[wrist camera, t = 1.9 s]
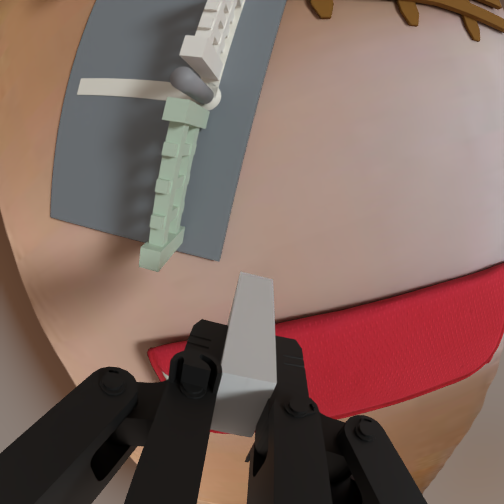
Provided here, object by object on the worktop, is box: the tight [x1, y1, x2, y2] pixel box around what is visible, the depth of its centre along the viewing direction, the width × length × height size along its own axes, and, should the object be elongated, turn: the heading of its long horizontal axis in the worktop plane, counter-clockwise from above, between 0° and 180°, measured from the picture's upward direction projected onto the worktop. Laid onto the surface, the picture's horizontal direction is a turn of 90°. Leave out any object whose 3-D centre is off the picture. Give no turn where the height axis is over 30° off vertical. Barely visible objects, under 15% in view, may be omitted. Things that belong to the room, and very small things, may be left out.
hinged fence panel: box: [139, 67, 214, 272], centre depth 19 cm, size 13×1×6 cm, turn 166°
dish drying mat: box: [147, 263, 504, 434], centre depth 28 cm, size 16×41×4 cm, turn 103°
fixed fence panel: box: [179, 0, 244, 80], centre depth 15 cm, size 8×1×6 cm, turn 166°
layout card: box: [51, 0, 287, 261], centre depth 21 cm, size 24×18×1 cm
